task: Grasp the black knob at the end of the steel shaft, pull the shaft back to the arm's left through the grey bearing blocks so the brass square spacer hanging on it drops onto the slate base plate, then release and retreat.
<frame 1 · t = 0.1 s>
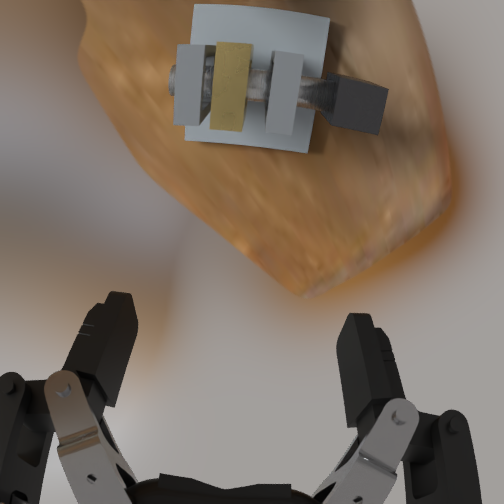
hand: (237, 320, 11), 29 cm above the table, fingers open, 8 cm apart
spacer: (233, 82, 24), point 9 cm above the table, touching shaft
shaft: (275, 87, 23), point 10 cm above the table, slide at 0.0 cm, touching spacer
bracket: (258, 75, 31), on the table
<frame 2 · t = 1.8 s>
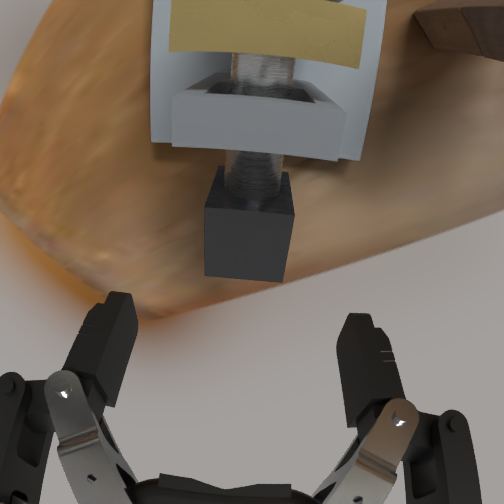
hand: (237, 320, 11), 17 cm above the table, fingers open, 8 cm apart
spacer: (266, 28, 12), point 9 cm above the table, touching shaft
wooden block: (463, 11, 16), on the table
shaft: (259, 99, 13), point 10 cm above the table, slide at 0.0 cm, touching spacer
bracket: (263, 61, 20), on the table
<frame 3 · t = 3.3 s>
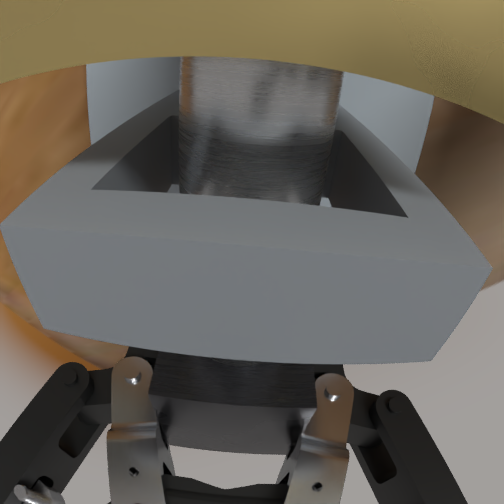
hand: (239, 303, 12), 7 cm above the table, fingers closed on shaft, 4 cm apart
shaft: (252, 169, 6), point 10 cm above the table, slide at 0.0 cm, touching gripper, spacer
bracket: (261, 65, 13), on the table
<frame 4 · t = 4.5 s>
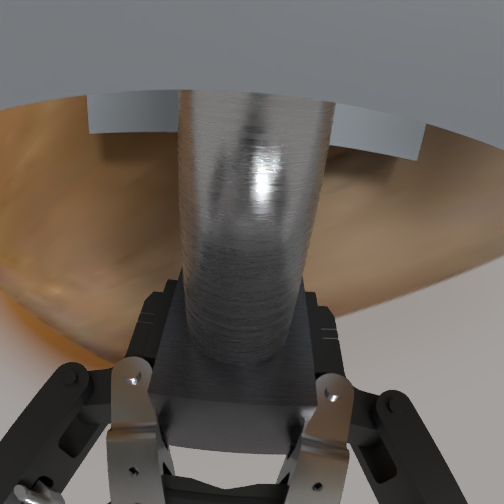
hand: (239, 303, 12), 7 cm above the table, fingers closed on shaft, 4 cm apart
shaft: (250, 166, 6), point 10 cm above the table, slide at 3.4 cm, touching gripper
bracket: (266, 2, 11), on the table
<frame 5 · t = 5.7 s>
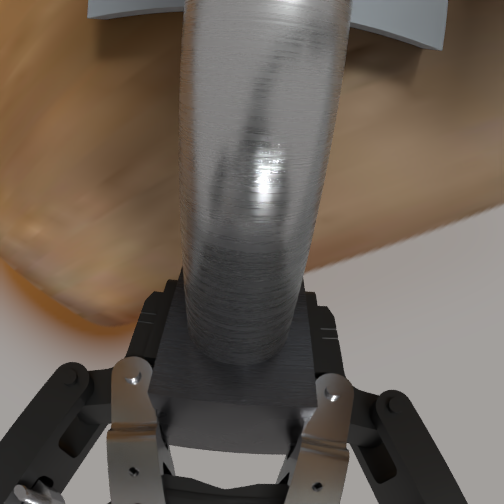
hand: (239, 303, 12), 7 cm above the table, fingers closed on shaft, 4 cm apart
shaft: (252, 167, 6), point 10 cm above the table, slide at 9.2 cm, touching gripper
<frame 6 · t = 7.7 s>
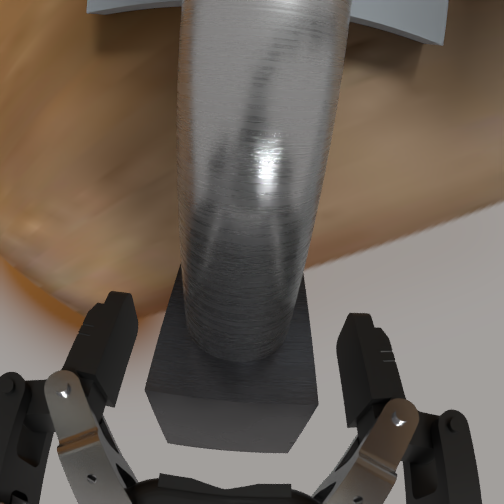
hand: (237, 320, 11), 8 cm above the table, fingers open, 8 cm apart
shaft: (251, 159, 6), point 10 cm above the table, slide at 9.3 cm
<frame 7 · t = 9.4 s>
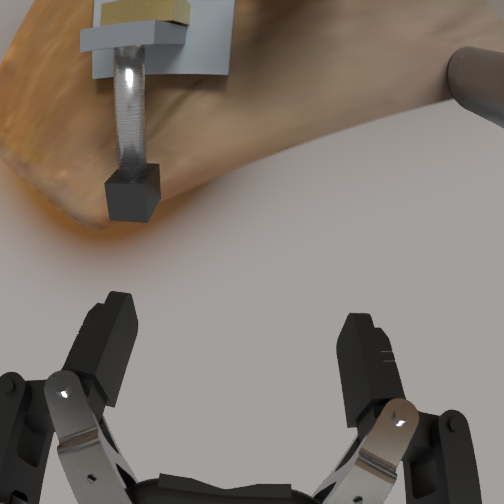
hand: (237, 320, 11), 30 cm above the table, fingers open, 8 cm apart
spacer: (148, 13, 23), point 5 cm above the table, touching bracket
shaft: (130, 128, 26), point 10 cm above the table, slide at 9.3 cm
bracket: (163, 21, 27), on the table
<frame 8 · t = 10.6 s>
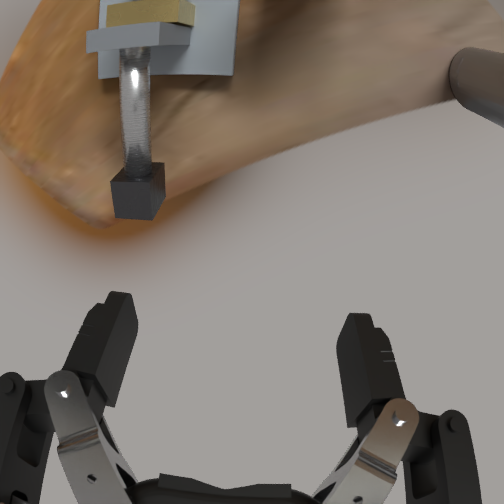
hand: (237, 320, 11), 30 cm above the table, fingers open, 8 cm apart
spacer: (153, 14, 23), point 5 cm above the table, touching bracket
shaft: (135, 127, 27), point 10 cm above the table, slide at 9.3 cm
bracket: (168, 22, 28), on the table
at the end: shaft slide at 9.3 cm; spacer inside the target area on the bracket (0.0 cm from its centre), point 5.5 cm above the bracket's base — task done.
